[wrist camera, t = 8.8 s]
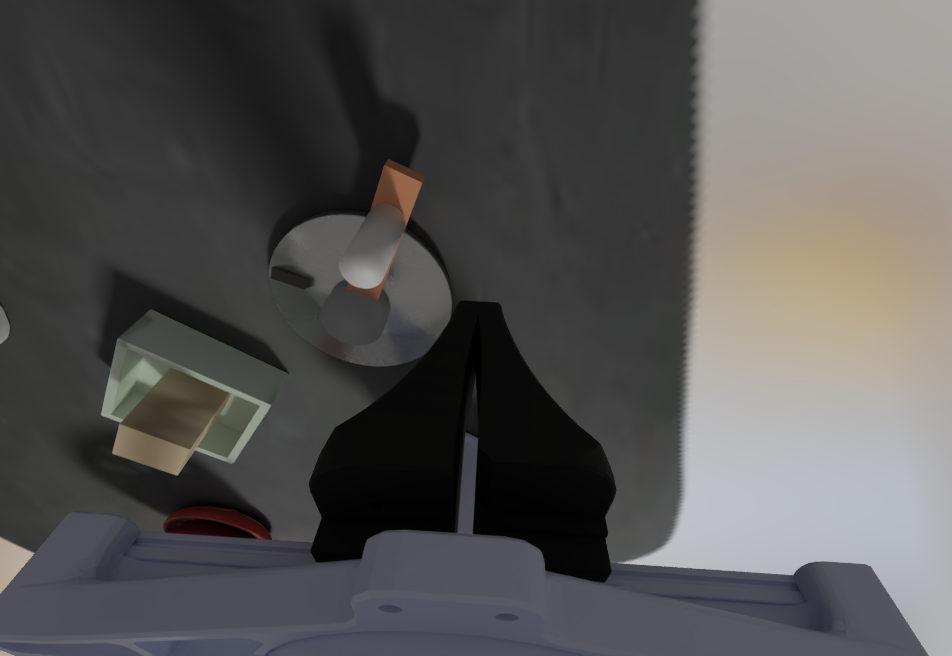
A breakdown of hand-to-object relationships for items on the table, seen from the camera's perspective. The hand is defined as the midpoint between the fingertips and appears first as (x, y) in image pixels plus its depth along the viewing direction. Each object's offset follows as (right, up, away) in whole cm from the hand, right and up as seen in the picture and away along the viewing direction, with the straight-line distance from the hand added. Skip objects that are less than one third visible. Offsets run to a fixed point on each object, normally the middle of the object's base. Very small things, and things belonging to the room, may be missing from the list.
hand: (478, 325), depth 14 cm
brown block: (-21, -4, +17) cm, 27 cm away
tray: (-21, -4, +17) cm, 27 cm away
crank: (-6, +4, +9) cm, 11 cm away
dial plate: (-7, +2, +12) cm, 14 cm away
